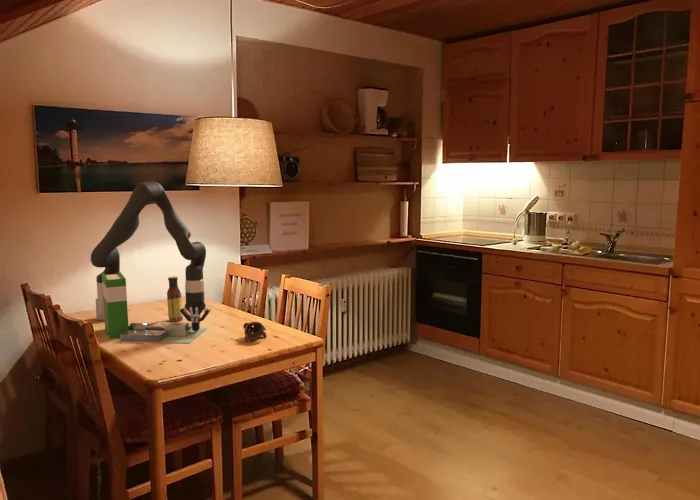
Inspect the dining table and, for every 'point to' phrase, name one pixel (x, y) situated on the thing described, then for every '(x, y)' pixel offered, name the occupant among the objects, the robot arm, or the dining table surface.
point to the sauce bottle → (174, 300)
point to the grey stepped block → (143, 333)
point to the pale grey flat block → (175, 328)
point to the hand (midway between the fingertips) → (196, 330)
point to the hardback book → (115, 304)
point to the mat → (178, 338)
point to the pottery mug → (254, 330)
